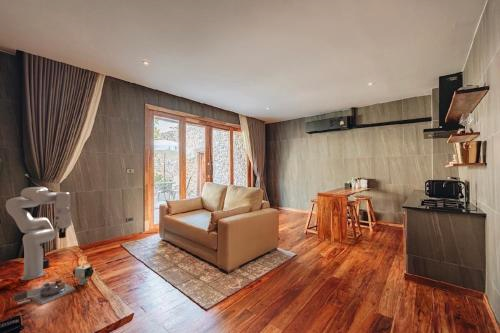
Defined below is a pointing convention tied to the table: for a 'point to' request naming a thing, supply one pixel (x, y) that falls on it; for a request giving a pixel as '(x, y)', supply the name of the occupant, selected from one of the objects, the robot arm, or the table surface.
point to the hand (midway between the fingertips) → (62, 237)
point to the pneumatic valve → (83, 273)
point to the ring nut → (42, 290)
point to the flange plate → (46, 299)
